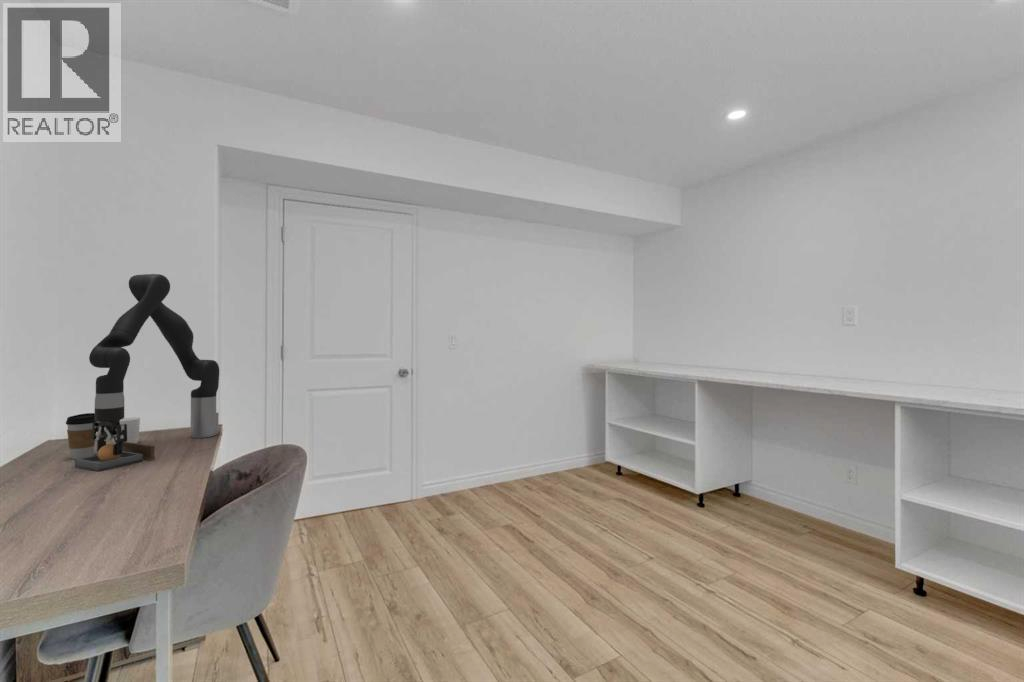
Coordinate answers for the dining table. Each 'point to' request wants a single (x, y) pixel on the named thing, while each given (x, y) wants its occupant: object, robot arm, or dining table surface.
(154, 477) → the dining table surface
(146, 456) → the fence
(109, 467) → the tray
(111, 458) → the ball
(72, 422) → the coffee cup
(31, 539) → the dining table surface
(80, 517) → the dining table surface
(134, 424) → the white cup
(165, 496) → the dining table surface
